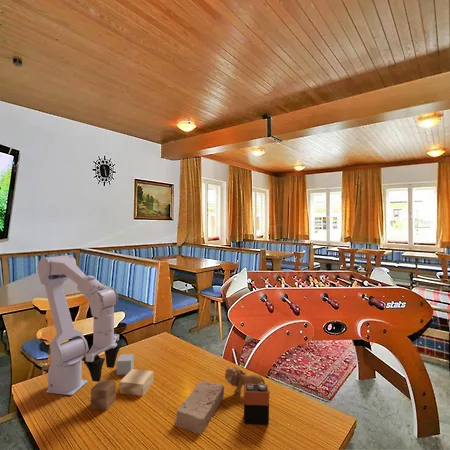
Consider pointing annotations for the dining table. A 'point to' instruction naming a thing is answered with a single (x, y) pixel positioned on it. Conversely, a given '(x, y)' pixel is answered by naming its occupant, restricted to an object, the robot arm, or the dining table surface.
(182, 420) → the brick
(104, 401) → the walnut block
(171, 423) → the dining table surface
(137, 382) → the base block
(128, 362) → the slate block
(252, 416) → the battery
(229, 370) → the lion figurine
